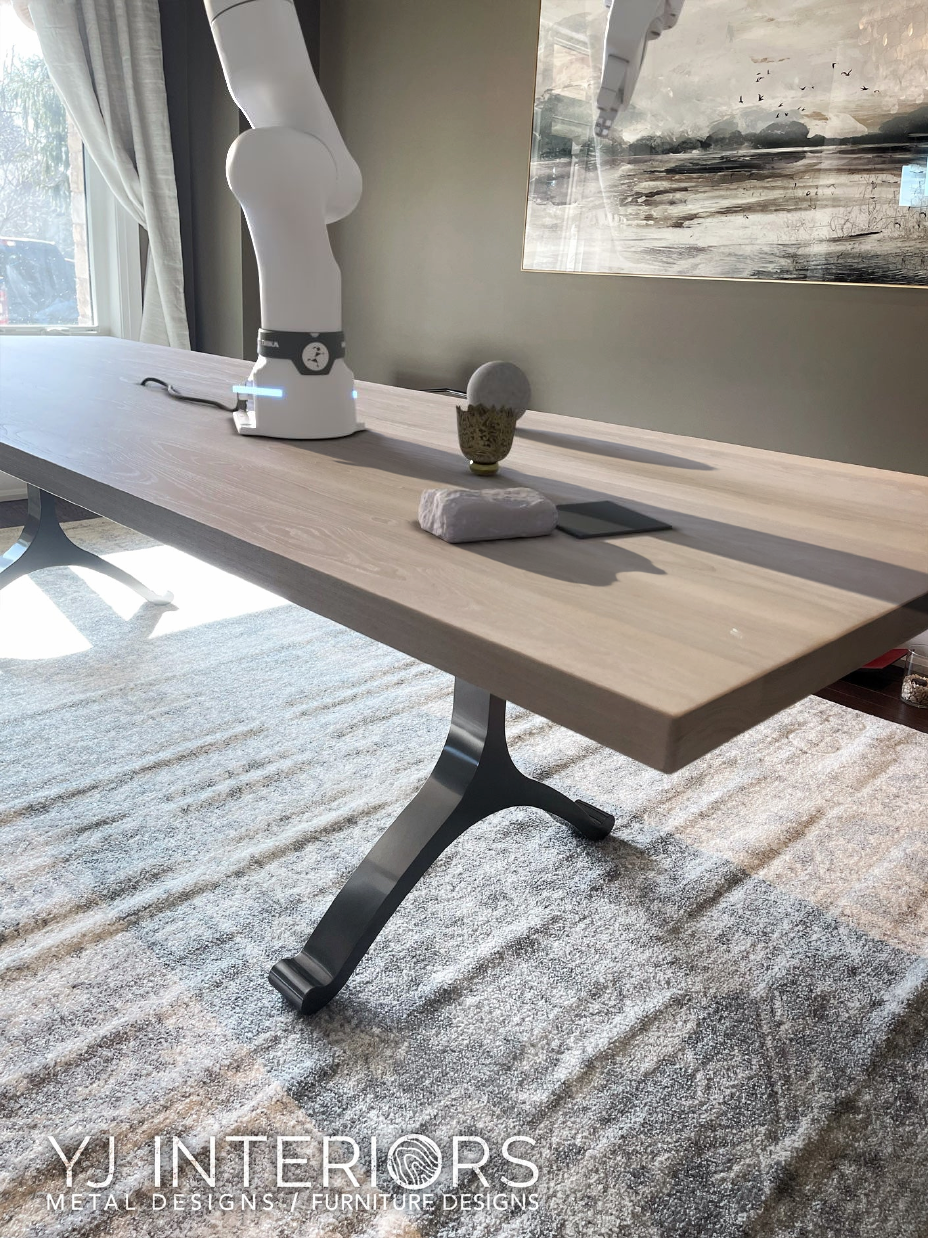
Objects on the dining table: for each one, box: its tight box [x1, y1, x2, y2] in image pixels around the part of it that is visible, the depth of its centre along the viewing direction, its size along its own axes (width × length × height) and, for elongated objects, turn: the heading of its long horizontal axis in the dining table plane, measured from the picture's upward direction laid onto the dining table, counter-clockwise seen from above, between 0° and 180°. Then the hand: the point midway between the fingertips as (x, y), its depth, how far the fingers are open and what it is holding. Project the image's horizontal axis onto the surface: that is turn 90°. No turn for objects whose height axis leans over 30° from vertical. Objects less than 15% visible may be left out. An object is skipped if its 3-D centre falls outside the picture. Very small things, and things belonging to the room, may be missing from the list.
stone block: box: [417, 486, 558, 544], centre depth 91 cm, size 12×5×10 cm
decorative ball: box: [466, 360, 532, 421], centre depth 148 cm, size 10×10×10 cm
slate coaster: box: [555, 500, 673, 539], centre depth 97 cm, size 11×11×1 cm
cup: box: [455, 403, 519, 477], centre depth 114 cm, size 8×7×8 cm
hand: (601, 122), depth 108 cm, fingers open, 8 cm apart
